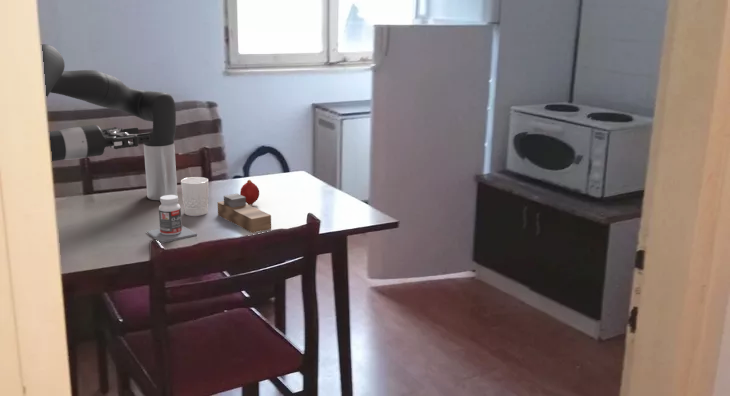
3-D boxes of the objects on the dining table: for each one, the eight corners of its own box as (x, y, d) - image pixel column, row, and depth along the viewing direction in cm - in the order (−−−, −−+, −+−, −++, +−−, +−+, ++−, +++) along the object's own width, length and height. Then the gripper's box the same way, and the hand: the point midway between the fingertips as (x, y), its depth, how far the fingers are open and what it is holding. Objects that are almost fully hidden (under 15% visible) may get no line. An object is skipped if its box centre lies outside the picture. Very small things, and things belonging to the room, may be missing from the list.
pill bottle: (176, 236, 197) (174, 200, 194) (156, 235, 198) (153, 199, 195) (185, 229, 202) (183, 194, 200) (166, 228, 204) (163, 193, 201)
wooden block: (218, 215, 217) (217, 194, 215) (236, 211, 221) (235, 191, 219) (252, 233, 202) (251, 210, 200) (271, 228, 206) (270, 206, 204)
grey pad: (146, 232, 201) (146, 231, 201) (180, 226, 207) (180, 224, 207) (161, 242, 194) (161, 241, 194) (196, 235, 200) (196, 233, 200)
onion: (241, 202, 231) (240, 177, 228) (260, 202, 231) (259, 177, 229) (240, 207, 225) (239, 182, 223) (259, 207, 225) (258, 181, 223)
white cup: (215, 211, 221) (213, 178, 219) (198, 218, 214) (197, 184, 212) (193, 207, 224) (192, 175, 222) (177, 214, 218) (174, 181, 215)
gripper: (89, 132, 173) (155, 123, 183) (68, 122, 184) (132, 115, 193) (92, 163, 175) (157, 153, 185) (72, 152, 186) (134, 143, 196)
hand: (144, 134), depth 189 cm, fingers open, 8 cm apart
